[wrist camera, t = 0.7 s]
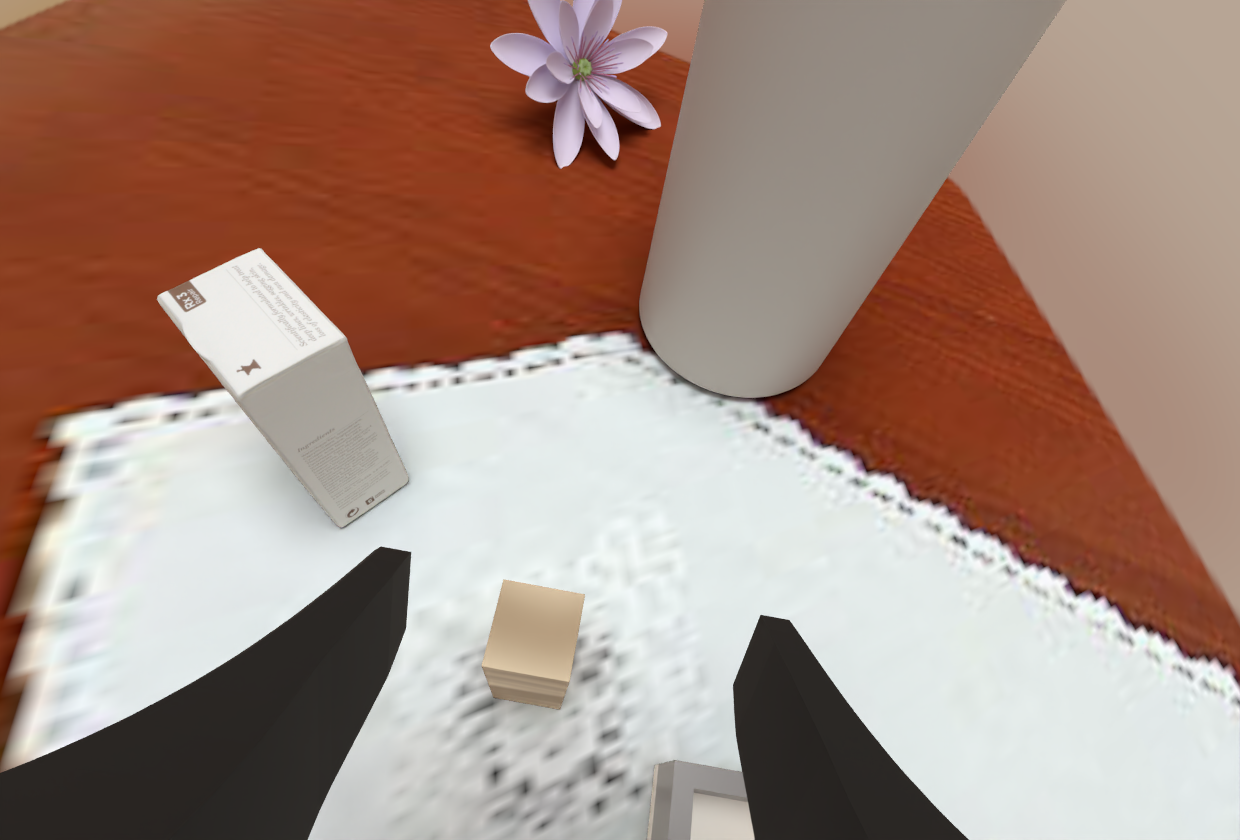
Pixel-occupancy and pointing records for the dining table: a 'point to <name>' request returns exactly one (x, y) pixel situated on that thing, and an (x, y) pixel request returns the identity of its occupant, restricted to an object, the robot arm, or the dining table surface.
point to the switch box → (698, 803)
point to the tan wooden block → (532, 644)
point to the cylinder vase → (811, 169)
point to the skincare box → (291, 380)
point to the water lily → (582, 70)
